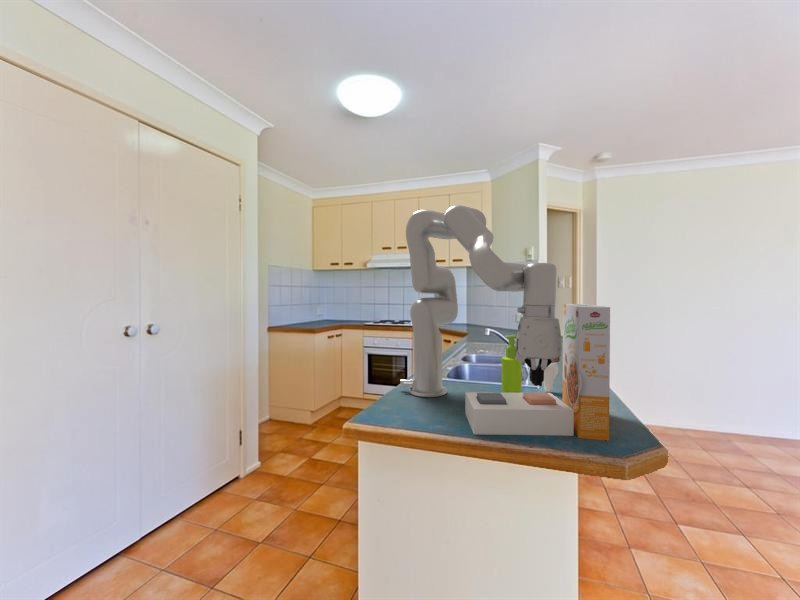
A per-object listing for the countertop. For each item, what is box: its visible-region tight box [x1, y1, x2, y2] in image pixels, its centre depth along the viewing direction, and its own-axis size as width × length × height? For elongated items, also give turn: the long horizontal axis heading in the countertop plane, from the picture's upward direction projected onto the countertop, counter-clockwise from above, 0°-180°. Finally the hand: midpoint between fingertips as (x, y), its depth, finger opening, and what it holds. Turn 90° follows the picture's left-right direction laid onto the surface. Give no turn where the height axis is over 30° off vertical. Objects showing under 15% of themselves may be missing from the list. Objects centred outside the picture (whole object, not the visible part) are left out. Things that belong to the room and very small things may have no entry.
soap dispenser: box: [501, 334, 523, 393], centre depth 110 cm, size 6×7×20 cm
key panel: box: [464, 391, 575, 437], centre depth 90 cm, size 23×14×6 cm, turn 88°
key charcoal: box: [477, 392, 506, 405], centre depth 90 cm, size 6×6×4 cm
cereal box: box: [561, 303, 611, 442], centre depth 91 cm, size 22×6×30 cm, turn 164°
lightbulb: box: [542, 362, 560, 393], centre depth 118 cm, size 6×6×11 cm
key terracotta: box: [522, 392, 556, 405], centre depth 90 cm, size 6×6×4 cm
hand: (536, 384), depth 90 cm, fingers closed
